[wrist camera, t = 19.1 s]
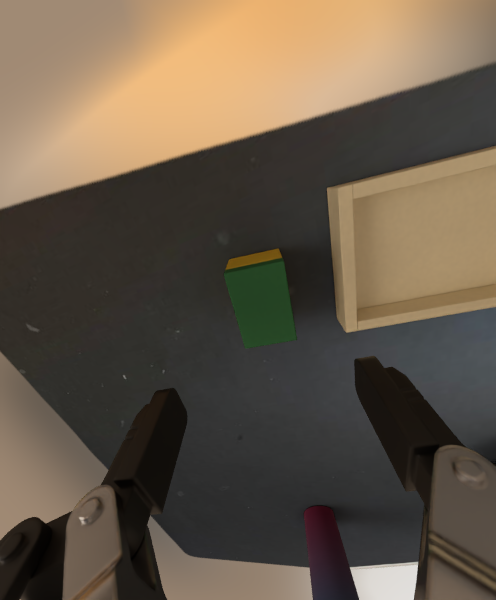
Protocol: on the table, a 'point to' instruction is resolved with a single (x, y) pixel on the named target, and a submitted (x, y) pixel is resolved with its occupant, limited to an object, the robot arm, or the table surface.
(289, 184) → the table surface
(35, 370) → the table surface
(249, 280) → the sponge
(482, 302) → the tray
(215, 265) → the table surface
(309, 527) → the cup
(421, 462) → the robot arm
